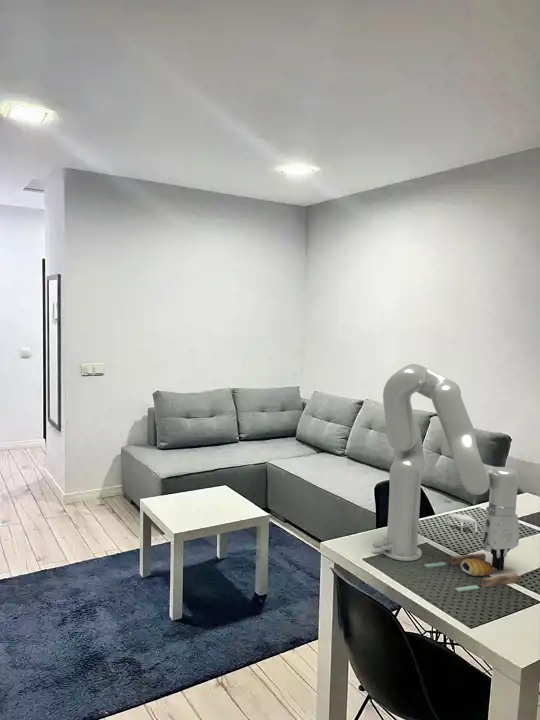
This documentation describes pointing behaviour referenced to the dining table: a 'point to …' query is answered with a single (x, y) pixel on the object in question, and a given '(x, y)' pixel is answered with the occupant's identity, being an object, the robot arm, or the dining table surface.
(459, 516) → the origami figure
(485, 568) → the pastry
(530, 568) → the dining table surface
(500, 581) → the chute
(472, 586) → the strips
